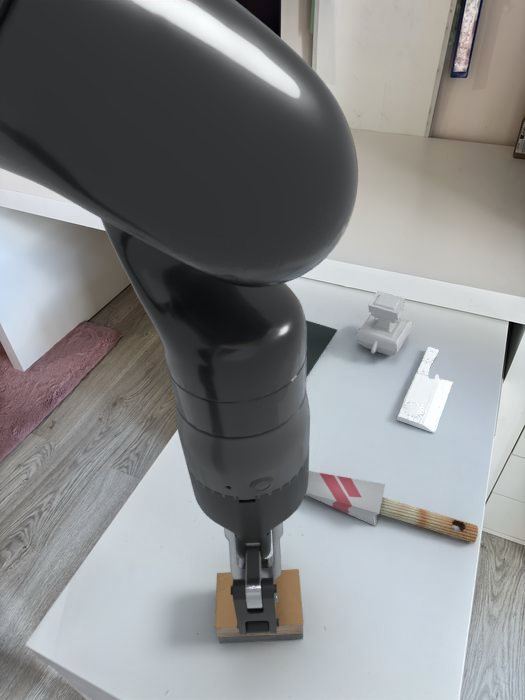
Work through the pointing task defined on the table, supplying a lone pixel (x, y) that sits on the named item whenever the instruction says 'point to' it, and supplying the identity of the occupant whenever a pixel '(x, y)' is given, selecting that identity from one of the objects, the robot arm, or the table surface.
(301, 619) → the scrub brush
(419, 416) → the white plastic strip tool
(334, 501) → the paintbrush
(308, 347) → the mat
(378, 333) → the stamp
